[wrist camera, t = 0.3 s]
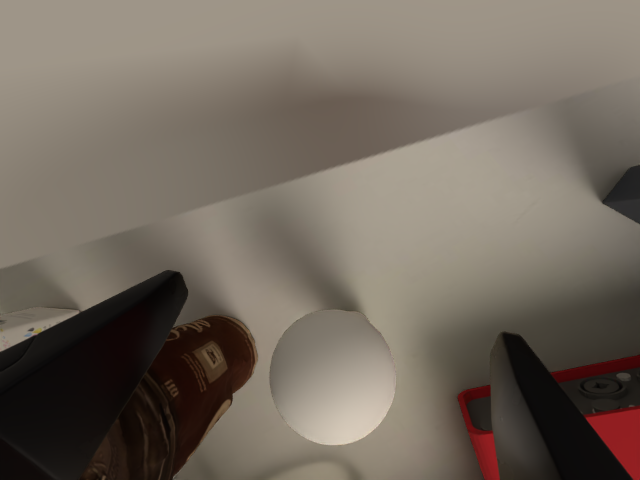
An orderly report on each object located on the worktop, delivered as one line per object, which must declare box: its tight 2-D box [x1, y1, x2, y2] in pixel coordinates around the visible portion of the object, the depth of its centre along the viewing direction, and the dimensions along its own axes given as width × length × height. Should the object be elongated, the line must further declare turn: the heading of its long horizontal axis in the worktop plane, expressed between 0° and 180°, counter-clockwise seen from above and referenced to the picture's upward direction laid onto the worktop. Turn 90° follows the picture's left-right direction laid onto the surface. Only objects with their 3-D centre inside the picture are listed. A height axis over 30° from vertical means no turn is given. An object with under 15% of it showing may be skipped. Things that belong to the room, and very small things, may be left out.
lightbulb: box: [270, 309, 396, 445], centre depth 19 cm, size 6×6×11 cm
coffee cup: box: [79, 315, 258, 480], centre depth 21 cm, size 9×8×13 cm
